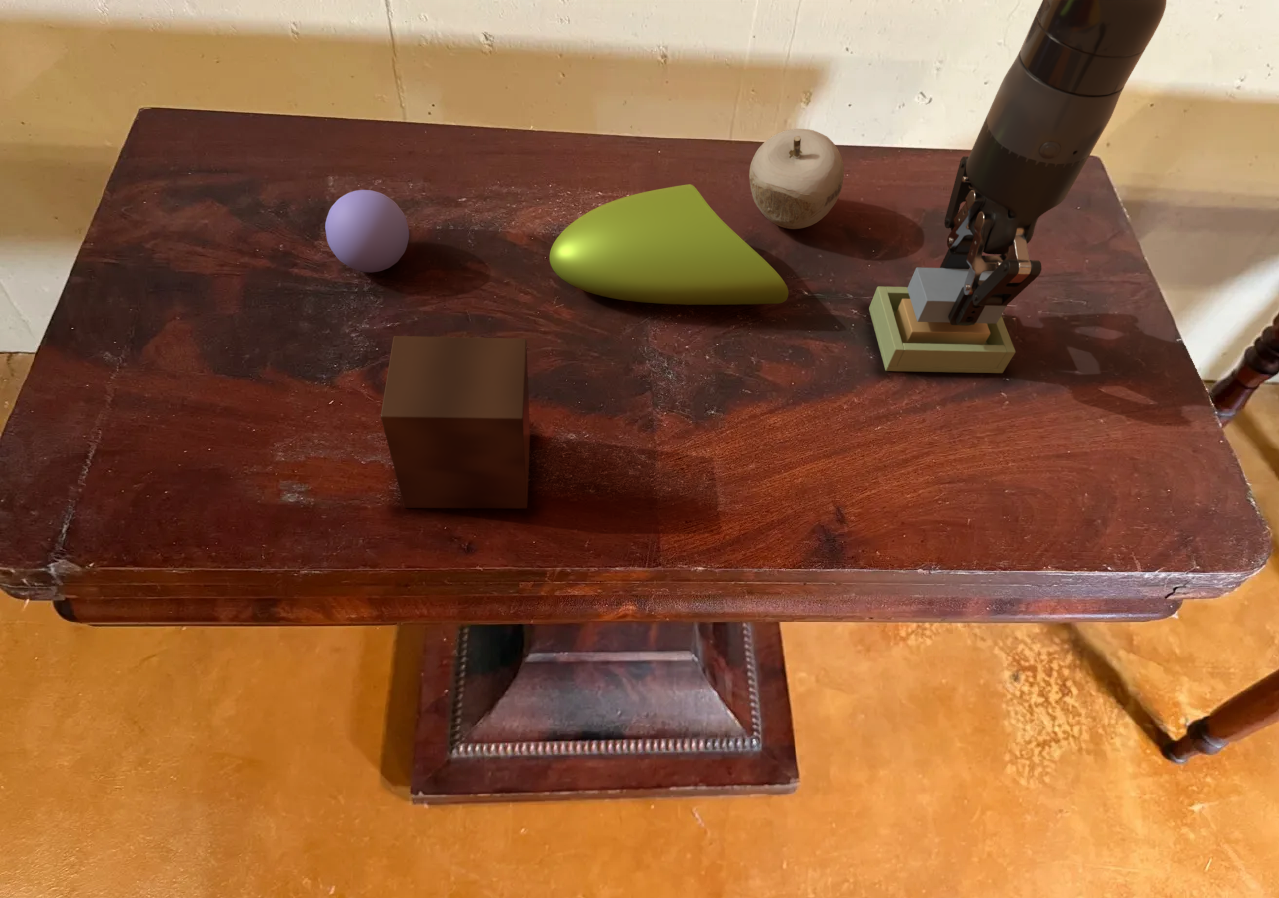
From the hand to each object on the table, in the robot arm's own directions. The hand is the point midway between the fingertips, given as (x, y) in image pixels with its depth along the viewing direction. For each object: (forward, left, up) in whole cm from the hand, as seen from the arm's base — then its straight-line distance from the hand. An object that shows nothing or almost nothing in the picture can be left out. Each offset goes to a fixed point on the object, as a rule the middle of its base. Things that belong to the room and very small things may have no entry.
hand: (953, 302), depth 76 cm
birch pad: (0, 0, -4) cm, 4 cm away
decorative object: (+19, +1, -5) cm, 20 cm away
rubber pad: (0, 0, 0) cm, 0 cm away
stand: (+9, +42, -5) cm, 43 cm away
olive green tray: (0, 0, -5) cm, 5 cm away
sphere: (+33, +38, -5) cm, 51 cm away
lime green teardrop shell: (+18, +17, -5) cm, 26 cm away
